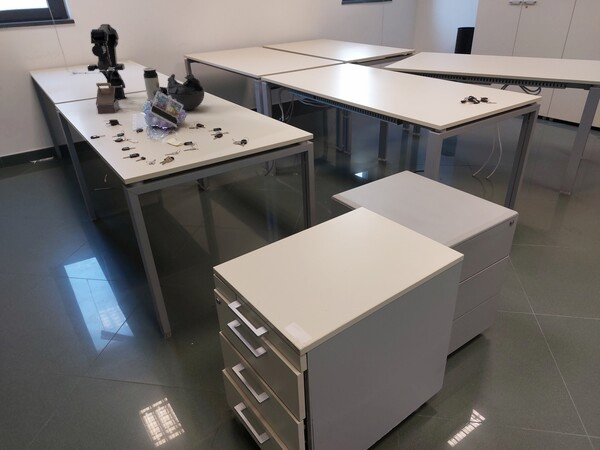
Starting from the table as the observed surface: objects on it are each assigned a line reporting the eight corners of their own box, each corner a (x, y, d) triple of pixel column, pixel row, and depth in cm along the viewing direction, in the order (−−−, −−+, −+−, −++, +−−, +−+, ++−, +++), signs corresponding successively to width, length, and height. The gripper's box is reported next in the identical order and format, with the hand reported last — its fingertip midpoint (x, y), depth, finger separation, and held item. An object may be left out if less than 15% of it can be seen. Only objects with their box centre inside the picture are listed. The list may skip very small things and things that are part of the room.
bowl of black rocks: (213, 109, 235) (209, 74, 225) (183, 116, 222) (177, 80, 213) (192, 103, 246) (188, 70, 237) (162, 109, 234) (157, 74, 224)
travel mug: (145, 100, 253) (139, 69, 244) (153, 97, 259) (148, 67, 250) (155, 101, 250) (150, 70, 241) (164, 98, 256) (159, 67, 247)
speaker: (167, 102, 246) (163, 85, 240) (171, 105, 242) (167, 87, 236) (155, 106, 243) (150, 88, 237) (159, 108, 239) (154, 90, 233)
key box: (103, 108, 237) (101, 99, 234) (119, 107, 238) (117, 99, 236) (98, 113, 227) (96, 105, 225) (115, 112, 228) (113, 104, 226)
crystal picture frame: (166, 107, 220) (147, 81, 205) (199, 110, 211) (182, 82, 197) (147, 136, 211) (126, 111, 196) (181, 140, 203) (162, 114, 188)
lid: (98, 89, 230) (94, 81, 225) (114, 88, 232) (111, 80, 227) (96, 104, 225) (92, 96, 220) (113, 104, 226) (110, 96, 221)
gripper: (81, 56, 223) (88, 86, 230) (118, 55, 225) (124, 85, 233) (87, 53, 232) (93, 82, 240) (122, 52, 235) (127, 81, 243)
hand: (109, 83), depth 239 cm, fingers closed
